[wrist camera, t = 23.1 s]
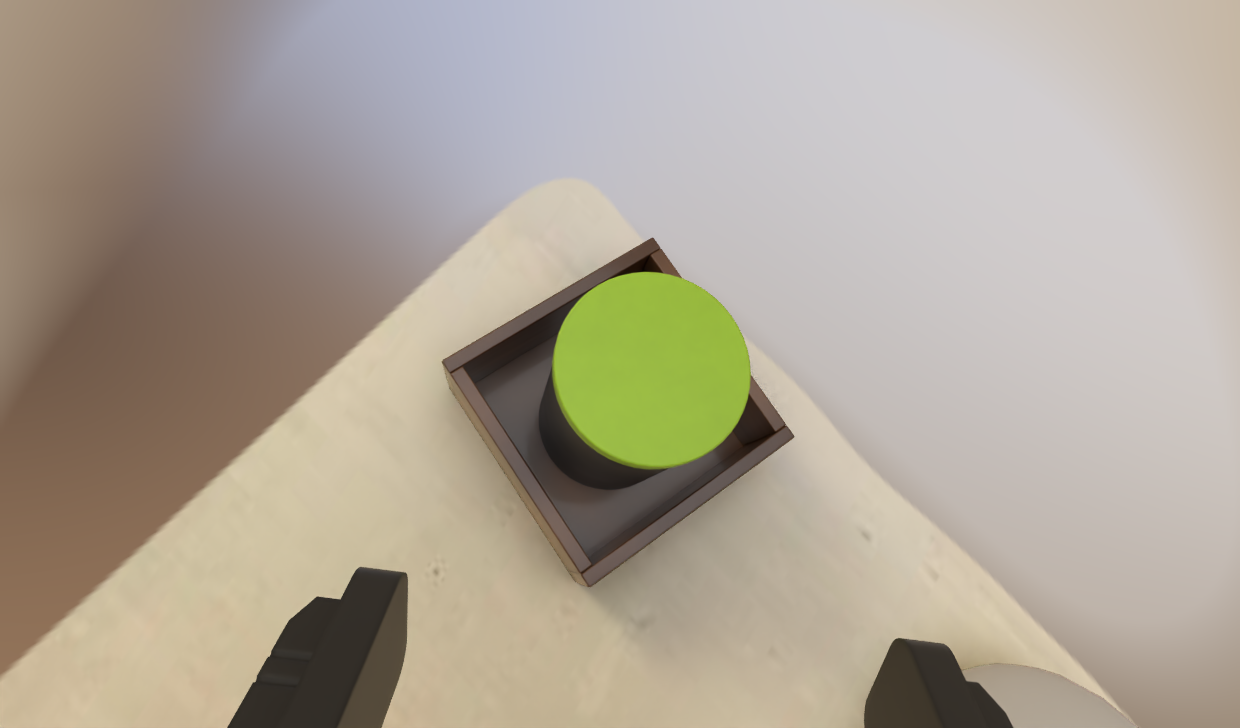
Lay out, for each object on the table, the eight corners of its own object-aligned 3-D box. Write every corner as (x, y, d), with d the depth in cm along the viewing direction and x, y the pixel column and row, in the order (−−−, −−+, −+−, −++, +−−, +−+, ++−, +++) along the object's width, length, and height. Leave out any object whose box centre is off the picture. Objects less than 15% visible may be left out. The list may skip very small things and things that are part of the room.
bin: (448, 386, 32) (440, 360, 27) (633, 276, 34) (653, 236, 30) (575, 583, 30) (589, 588, 26) (756, 451, 33) (795, 436, 29)
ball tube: (508, 398, 31) (513, 334, 22) (625, 326, 33) (676, 237, 24) (589, 521, 31) (630, 509, 21) (704, 439, 32) (789, 395, 23)
